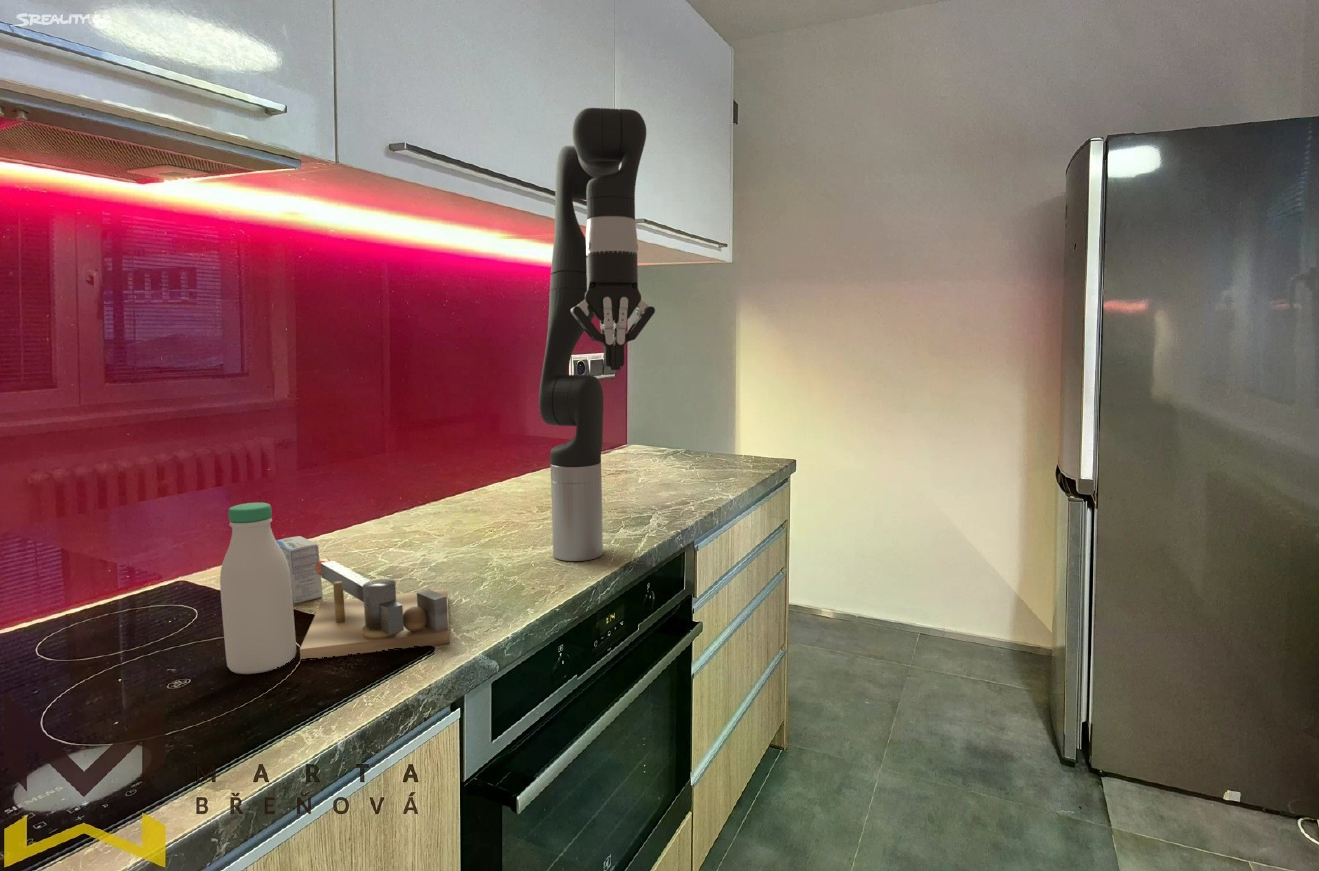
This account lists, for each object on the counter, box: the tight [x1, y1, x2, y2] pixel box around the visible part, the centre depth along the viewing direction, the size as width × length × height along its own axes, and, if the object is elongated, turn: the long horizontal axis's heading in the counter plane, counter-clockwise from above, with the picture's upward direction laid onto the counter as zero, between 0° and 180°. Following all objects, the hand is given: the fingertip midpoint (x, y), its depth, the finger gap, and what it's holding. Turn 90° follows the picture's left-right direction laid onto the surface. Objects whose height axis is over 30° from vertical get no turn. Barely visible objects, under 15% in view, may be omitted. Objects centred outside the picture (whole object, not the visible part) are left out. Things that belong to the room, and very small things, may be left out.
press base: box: [299, 581, 450, 660], centre depth 104 cm, size 18×18×7 cm
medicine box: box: [276, 535, 324, 604], centre depth 118 cm, size 8×4×9 cm, turn 45°
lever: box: [315, 558, 404, 635], centre depth 104 cm, size 25×4×5 cm, turn 44°
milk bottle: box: [219, 502, 297, 675], centre depth 92 cm, size 8×8×20 cm
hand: (614, 370), depth 112 cm, fingers closed
